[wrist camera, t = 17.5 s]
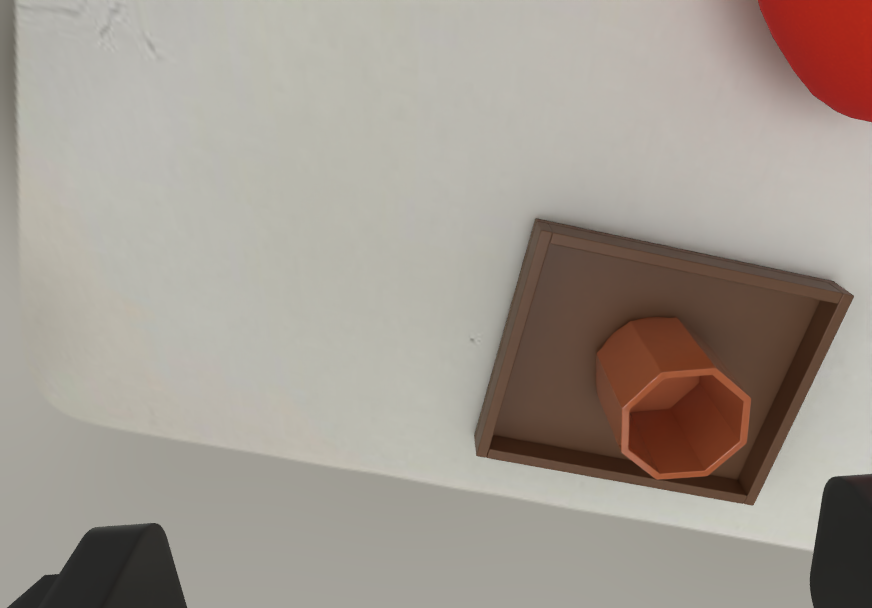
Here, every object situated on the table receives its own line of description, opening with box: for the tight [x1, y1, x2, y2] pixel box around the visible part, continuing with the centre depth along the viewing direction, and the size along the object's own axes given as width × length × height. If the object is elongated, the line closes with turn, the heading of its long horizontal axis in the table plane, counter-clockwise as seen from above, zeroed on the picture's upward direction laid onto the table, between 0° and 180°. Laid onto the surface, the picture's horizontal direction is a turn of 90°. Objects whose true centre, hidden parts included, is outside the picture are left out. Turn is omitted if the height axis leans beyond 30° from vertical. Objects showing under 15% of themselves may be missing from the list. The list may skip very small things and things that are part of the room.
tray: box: [474, 219, 854, 505], centre depth 39 cm, size 16×13×2 cm
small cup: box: [596, 317, 751, 480], centre depth 36 cm, size 6×6×6 cm
